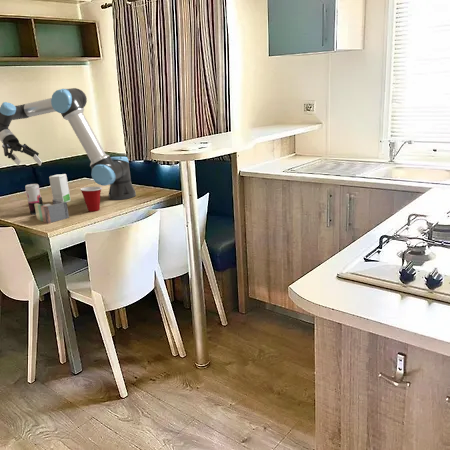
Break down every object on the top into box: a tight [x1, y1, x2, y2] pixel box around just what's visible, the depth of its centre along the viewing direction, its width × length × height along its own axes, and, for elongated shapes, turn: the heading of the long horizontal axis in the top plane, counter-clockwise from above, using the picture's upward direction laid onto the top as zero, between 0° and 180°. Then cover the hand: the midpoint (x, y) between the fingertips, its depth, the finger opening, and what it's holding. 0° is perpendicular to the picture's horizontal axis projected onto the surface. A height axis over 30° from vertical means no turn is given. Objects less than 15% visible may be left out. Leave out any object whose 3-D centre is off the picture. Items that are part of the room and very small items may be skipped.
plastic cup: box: [80, 186, 103, 213], centre depth 245 cm, size 11×11×12 cm
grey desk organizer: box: [34, 198, 70, 224], centre depth 235 cm, size 12×11×8 cm
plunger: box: [38, 196, 52, 206], centre depth 239 cm, size 10×6×10 cm, turn 45°
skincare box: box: [48, 173, 72, 203], centre depth 266 cm, size 8×7×16 cm
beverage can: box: [24, 183, 42, 215], centre depth 246 cm, size 6×7×15 cm
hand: (30, 163), depth 253 cm, fingers open, 13 cm apart
